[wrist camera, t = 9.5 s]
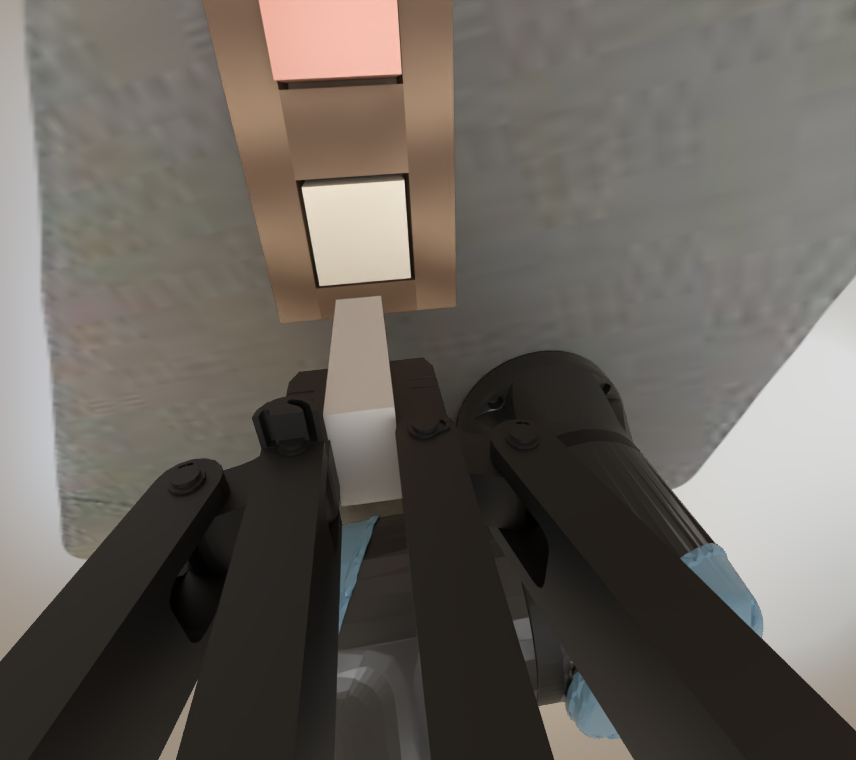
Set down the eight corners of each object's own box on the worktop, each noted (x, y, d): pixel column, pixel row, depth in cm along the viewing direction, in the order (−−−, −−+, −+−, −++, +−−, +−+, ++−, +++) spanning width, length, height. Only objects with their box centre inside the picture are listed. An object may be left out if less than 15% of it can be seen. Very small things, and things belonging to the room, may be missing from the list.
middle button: (395, 77, 23) (401, 74, 19) (286, 83, 22) (273, 80, 19) (384, -69, 20) (390, -104, 16) (260, -67, 19) (239, -103, 16)
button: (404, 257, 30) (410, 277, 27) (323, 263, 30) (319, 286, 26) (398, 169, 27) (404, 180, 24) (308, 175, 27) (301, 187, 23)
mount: (441, 275, 34) (456, 306, 29) (292, 288, 33) (280, 323, 28) (419, -464, 18) (444, -688, 13) (125, -481, 17) (25, -731, 12)
